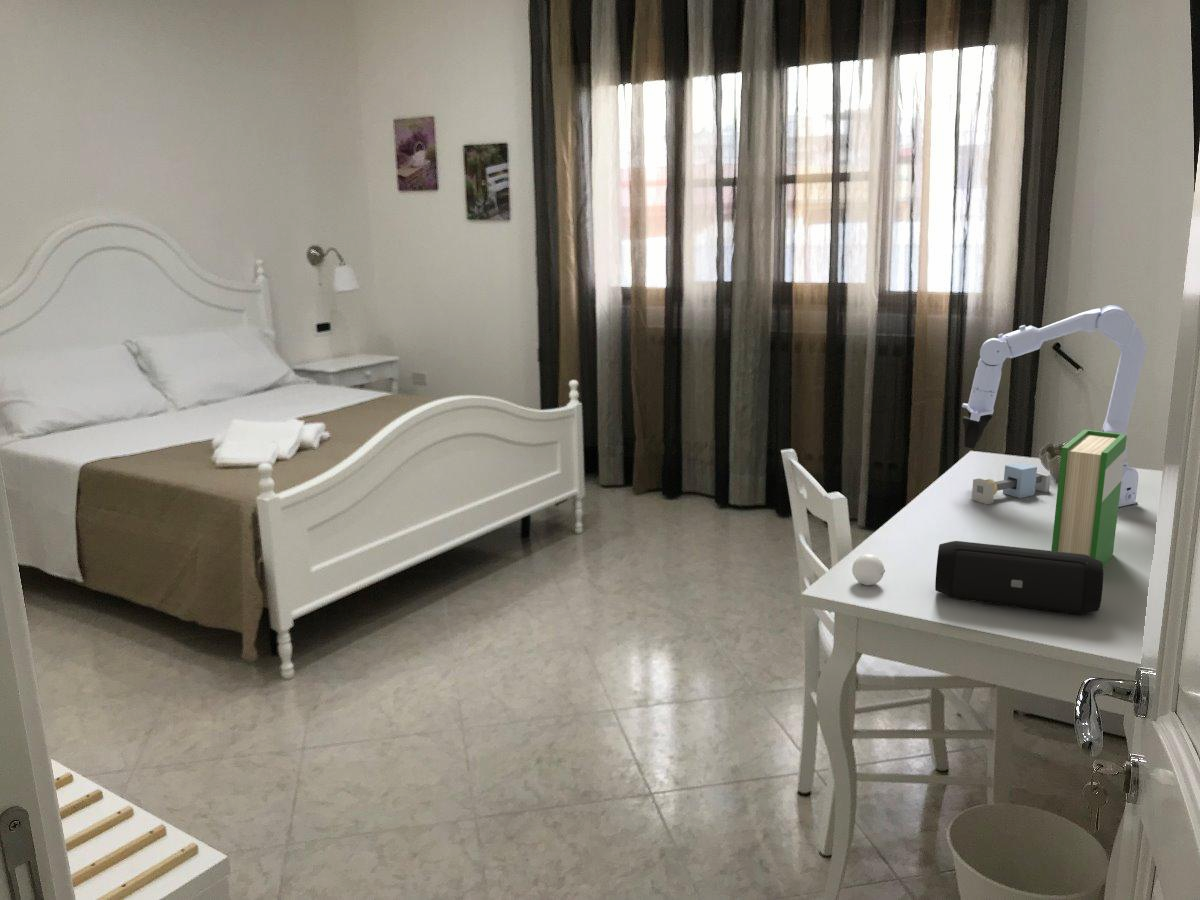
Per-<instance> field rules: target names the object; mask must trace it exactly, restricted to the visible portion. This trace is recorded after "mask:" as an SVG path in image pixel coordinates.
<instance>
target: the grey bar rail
mask: <svg viewBox="0 0 1200 900" xmlns="http://www.w3.org/2000/svg"><path fill="white" fill-rule="evenodd" d="M1014 487H1017V479H1015V478H1013V479H1007V480H1004V479H1003V480H998V481H995V480H993V479H991V478H989V479H988V478H987V479H984V478H980V477H979V478H974V479H972V488H971V489H972V491H971V500H972V501H975V502H979V503H981V504H985V505H990V504H993V503H994V496H995V495H996V493H997V492H999V491H1003V489H1008V488H1014ZM1050 487H1051V474H1048V473H1044V472H1041V471H1040V472H1039V471H1037V474H1036V484H1035V491H1039V492H1043V493H1047V492H1050Z"/></svg>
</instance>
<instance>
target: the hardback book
mask: <svg viewBox="0 0 1200 900" xmlns="http://www.w3.org/2000/svg"><path fill="white" fill-rule="evenodd" d="M1127 437H1128V433H1127V434H1120V433H1111V432H1102V430H1100V431H1099V430H1094V429H1093V430H1092V429H1083V430H1082V431H1081V432H1079V433H1078V434H1076V436H1074V437H1072V439H1071V440H1069V441H1068V442H1067V443H1066V444H1064V445H1063V446H1062V447H1061V452H1060V460H1059V461H1060V462H1059V471H1058V472H1059V474H1058V483H1057V484H1058V485H1057V491H1056V501H1055V511H1054V513H1055V514H1054V521H1053V529H1052V531H1053V532H1052V540H1051V550H1050V551H1056V552H1066V553H1075V554H1084V555H1087V556H1090V557H1092V558H1095V559H1097V560H1099V561H1101V562H1102V563H1103V569H1104V568H1105V567H1106V565H1107V564H1108V562H1109V560H1110V559H1111V558H1112V557H1113V555H1114V548H1115V538H1116V531H1117V530H1116V528H1117V523H1118V513H1119V507H1118V506H1119V497H1120V489H1121V480H1122V472H1123V463H1124V455H1125V446H1126V445H1127Z"/></svg>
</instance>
